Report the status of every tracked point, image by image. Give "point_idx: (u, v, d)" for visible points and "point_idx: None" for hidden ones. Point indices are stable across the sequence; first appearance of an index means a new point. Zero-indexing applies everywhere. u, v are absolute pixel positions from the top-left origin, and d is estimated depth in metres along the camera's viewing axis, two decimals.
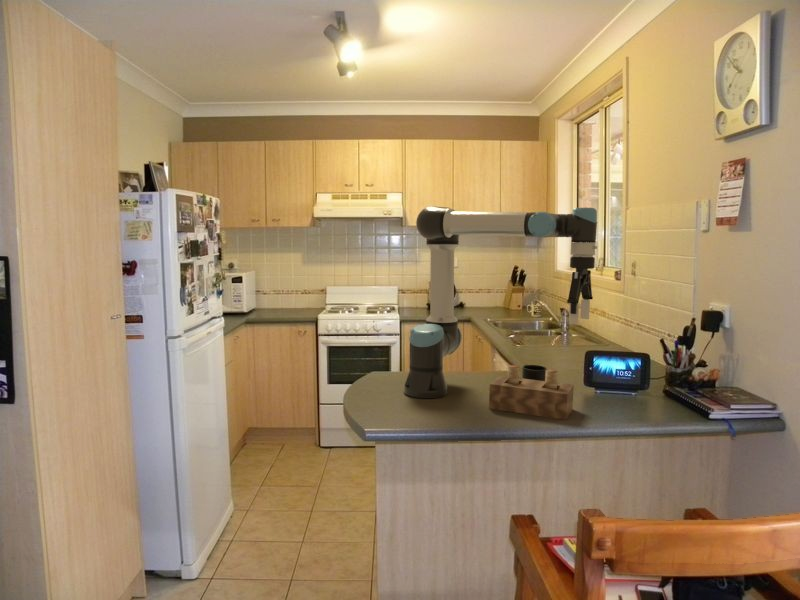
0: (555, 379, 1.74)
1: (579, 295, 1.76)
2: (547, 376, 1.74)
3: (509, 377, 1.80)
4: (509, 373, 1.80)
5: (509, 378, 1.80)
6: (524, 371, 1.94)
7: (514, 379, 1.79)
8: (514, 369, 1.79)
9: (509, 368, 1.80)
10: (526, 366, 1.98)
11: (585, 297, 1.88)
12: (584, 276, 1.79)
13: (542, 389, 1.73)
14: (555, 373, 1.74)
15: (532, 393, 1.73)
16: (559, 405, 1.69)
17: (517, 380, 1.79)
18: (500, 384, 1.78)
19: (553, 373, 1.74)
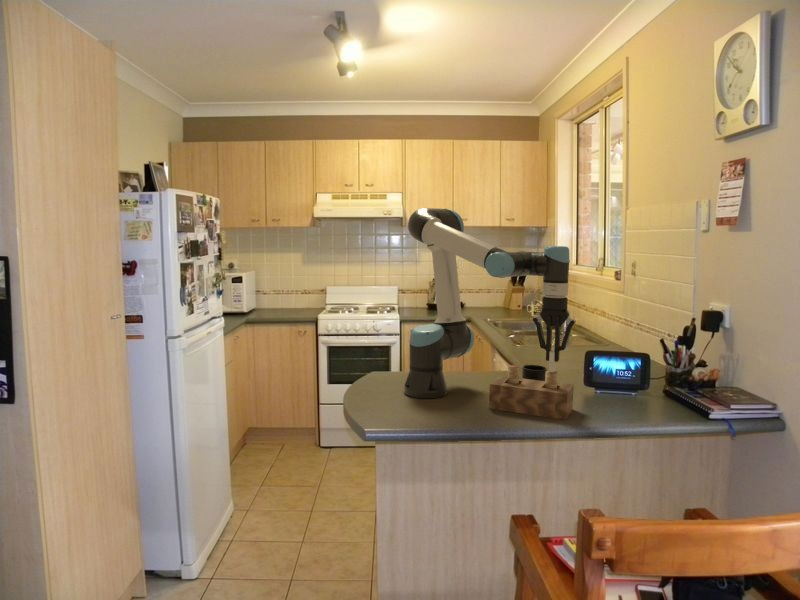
0: (555, 380, 1.74)
1: (548, 341, 1.74)
2: (547, 377, 1.74)
3: (509, 377, 1.80)
4: (509, 373, 1.80)
5: (509, 378, 1.80)
6: (524, 371, 1.94)
7: (514, 379, 1.79)
8: (514, 369, 1.79)
9: (509, 368, 1.80)
10: (526, 366, 1.98)
11: None
12: (547, 318, 1.73)
13: (542, 389, 1.73)
14: (555, 374, 1.74)
15: (532, 393, 1.73)
16: (559, 405, 1.69)
17: (517, 380, 1.79)
18: (500, 384, 1.78)
19: (553, 374, 1.74)
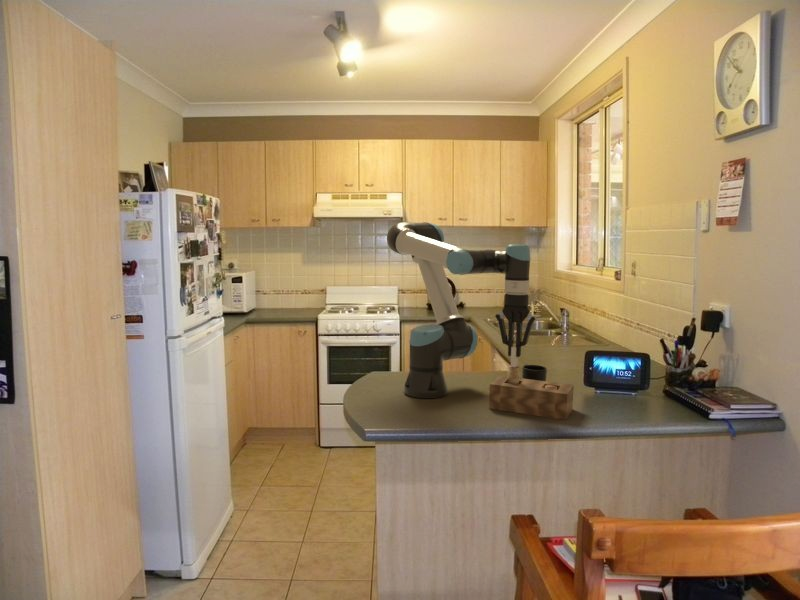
0: None
1: (510, 336, 1.79)
2: None
3: (509, 377, 1.80)
4: (509, 373, 1.80)
5: (509, 378, 1.80)
6: (524, 371, 1.94)
7: (514, 379, 1.79)
8: (514, 369, 1.79)
9: (509, 368, 1.80)
10: (526, 366, 1.98)
11: None
12: None
13: (542, 389, 1.73)
14: None
15: (532, 393, 1.73)
16: (559, 405, 1.69)
17: (517, 380, 1.79)
18: (500, 384, 1.78)
19: None
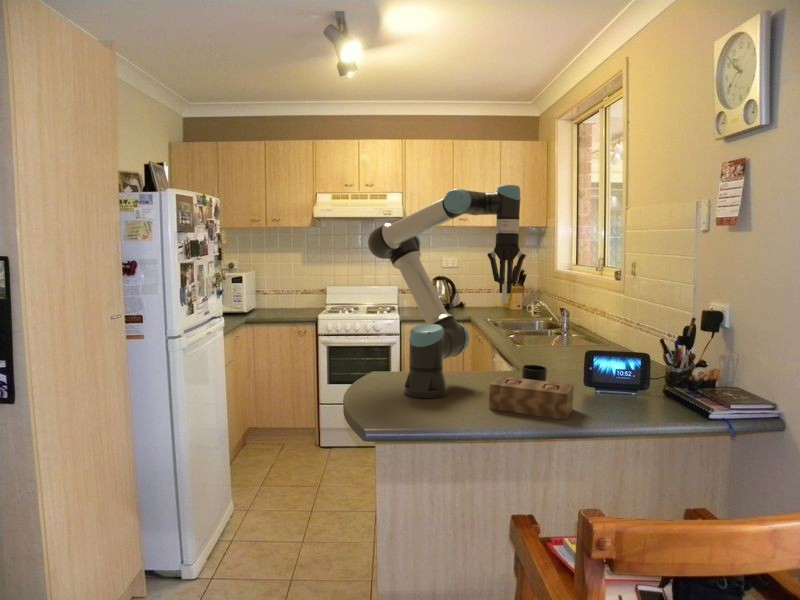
0: None
1: (501, 274, 1.87)
2: None
3: None
4: None
5: None
6: (524, 371, 1.94)
7: None
8: None
9: (508, 383, 1.80)
10: (526, 366, 1.98)
11: None
12: (499, 253, 1.86)
13: (542, 389, 1.73)
14: None
15: (532, 393, 1.73)
16: (559, 405, 1.69)
17: None
18: (500, 384, 1.78)
19: None
